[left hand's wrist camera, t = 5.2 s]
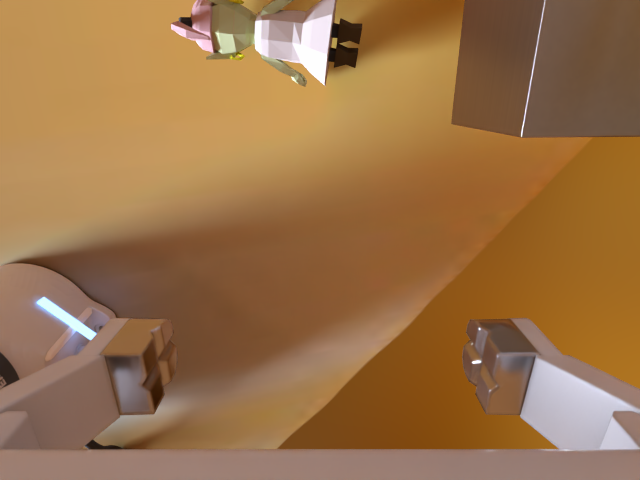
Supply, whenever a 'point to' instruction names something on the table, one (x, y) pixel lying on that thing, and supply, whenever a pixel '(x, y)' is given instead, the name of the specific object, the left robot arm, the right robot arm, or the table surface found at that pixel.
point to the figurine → (273, 34)
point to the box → (549, 68)
